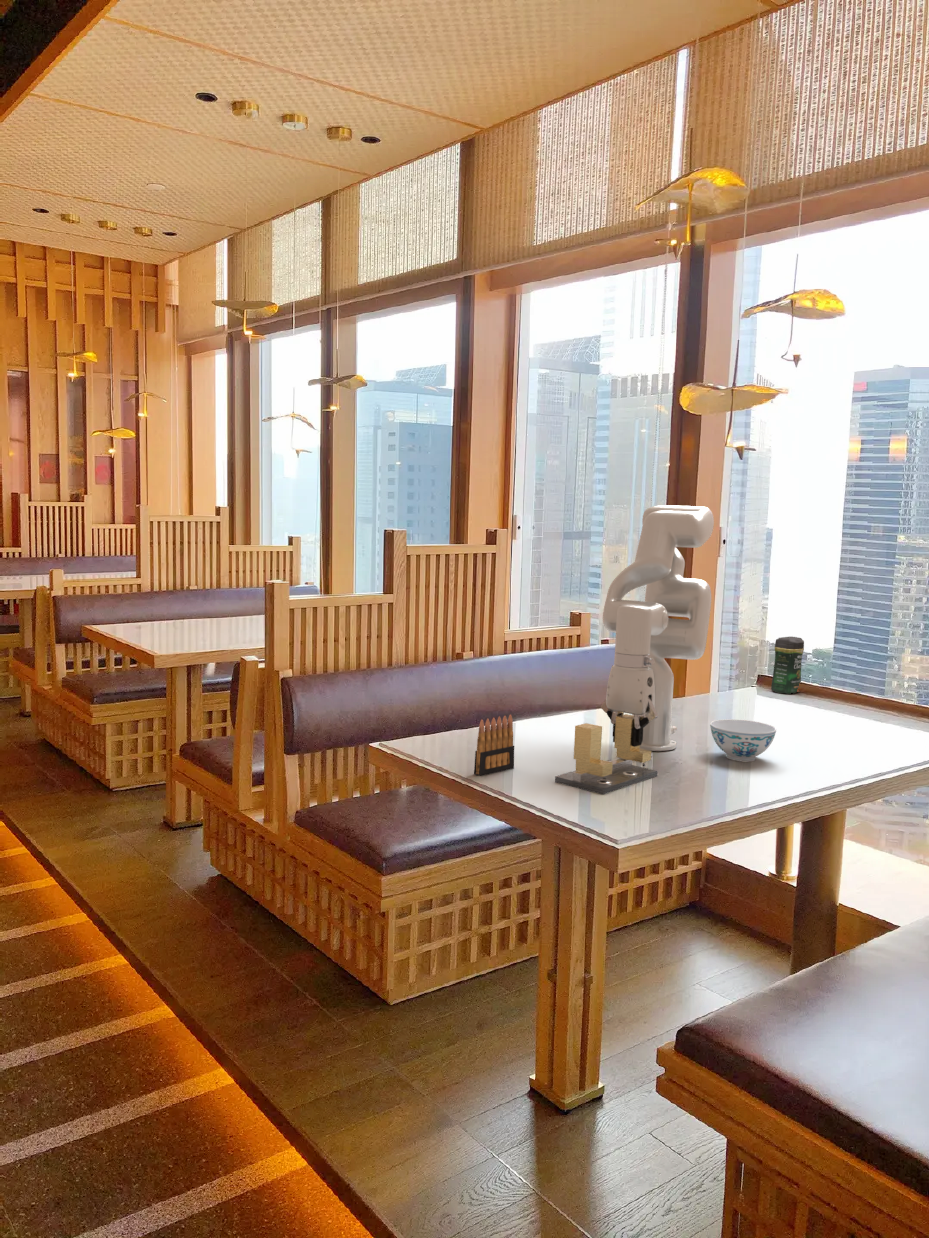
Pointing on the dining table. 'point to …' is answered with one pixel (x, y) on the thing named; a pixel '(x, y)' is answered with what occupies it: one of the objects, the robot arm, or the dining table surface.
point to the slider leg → (628, 741)
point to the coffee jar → (787, 664)
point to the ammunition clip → (494, 747)
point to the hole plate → (612, 777)
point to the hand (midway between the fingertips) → (627, 742)
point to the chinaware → (742, 738)
